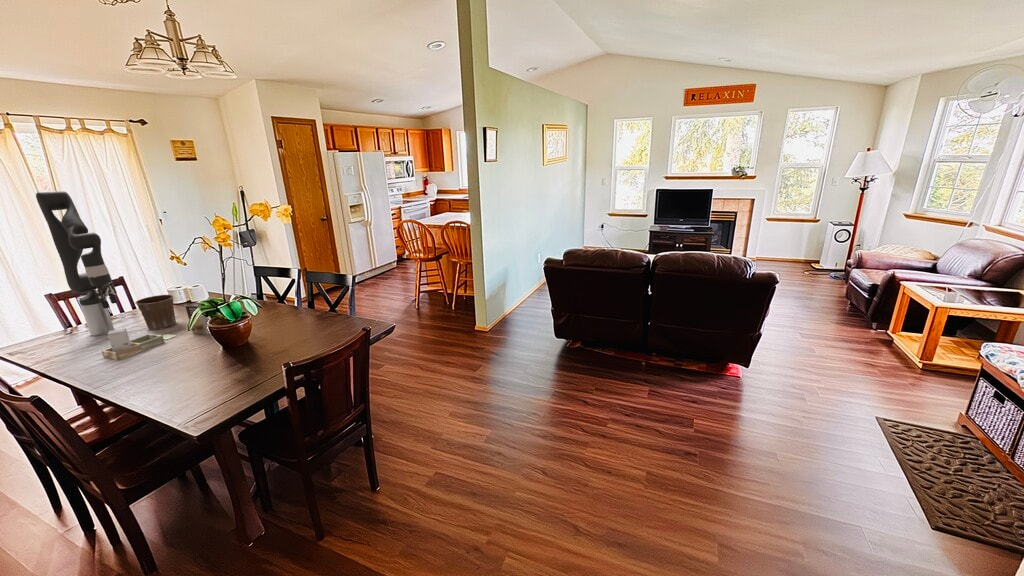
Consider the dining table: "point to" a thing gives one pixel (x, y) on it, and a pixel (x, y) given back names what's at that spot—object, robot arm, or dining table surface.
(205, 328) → the coffee box
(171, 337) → the sage card
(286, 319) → the dining table surface
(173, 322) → the plant pot
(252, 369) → the dining table surface
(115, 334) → the skincare box
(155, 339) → the two-slot rack
